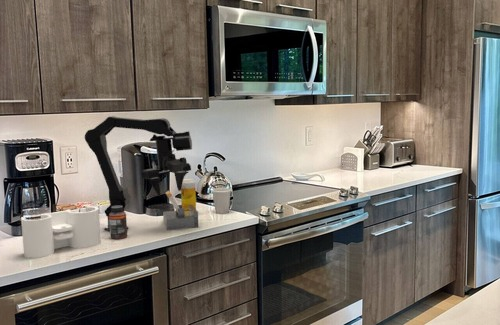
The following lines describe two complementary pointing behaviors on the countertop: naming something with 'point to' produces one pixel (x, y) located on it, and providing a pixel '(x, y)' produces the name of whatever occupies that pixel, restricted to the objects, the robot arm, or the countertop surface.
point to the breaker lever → (172, 200)
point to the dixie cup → (221, 200)
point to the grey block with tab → (181, 218)
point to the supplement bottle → (117, 222)
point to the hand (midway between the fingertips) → (169, 192)
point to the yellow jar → (188, 193)
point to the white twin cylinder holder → (60, 232)
